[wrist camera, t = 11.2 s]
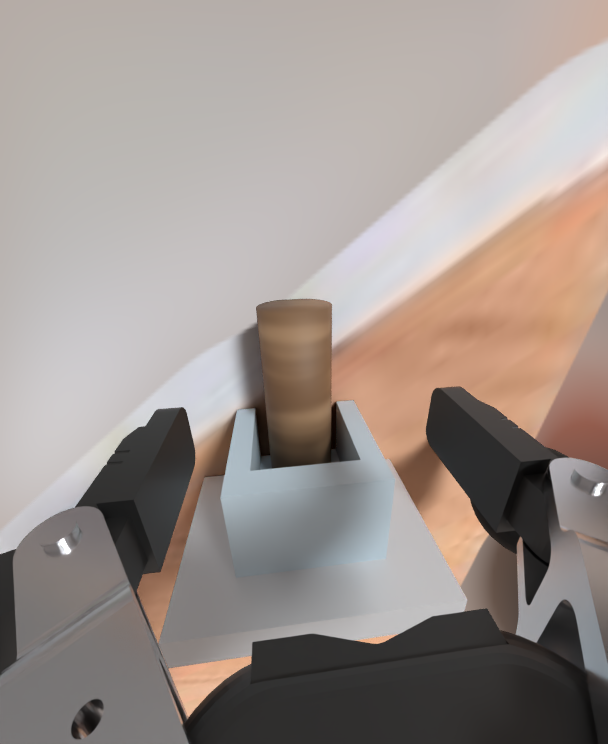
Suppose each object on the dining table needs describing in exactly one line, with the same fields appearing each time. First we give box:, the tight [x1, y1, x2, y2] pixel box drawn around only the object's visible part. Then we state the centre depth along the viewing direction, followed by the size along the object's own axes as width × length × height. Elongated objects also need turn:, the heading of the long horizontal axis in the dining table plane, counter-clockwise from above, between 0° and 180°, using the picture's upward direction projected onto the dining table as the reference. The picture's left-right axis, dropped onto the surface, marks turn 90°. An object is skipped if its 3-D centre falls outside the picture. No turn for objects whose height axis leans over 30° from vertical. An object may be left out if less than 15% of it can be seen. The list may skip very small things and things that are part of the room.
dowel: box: [256, 299, 332, 469], centre depth 18 cm, size 11×4×4 cm, turn 2°
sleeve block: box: [220, 400, 395, 578], centre depth 18 cm, size 6×8×8 cm
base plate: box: [159, 459, 467, 668], centre depth 18 cm, size 2×14×10 cm, turn 92°
